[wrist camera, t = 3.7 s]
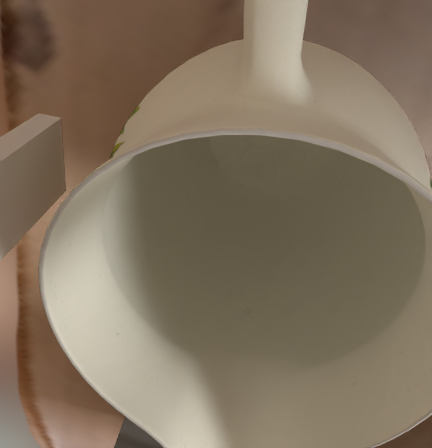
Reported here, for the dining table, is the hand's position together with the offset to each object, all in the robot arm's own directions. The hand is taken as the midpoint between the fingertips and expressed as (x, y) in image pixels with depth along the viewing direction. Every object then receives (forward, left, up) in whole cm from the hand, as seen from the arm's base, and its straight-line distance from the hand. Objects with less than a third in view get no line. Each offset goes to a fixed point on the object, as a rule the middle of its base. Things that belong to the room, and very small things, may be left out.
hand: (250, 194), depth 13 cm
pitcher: (0, 0, -8) cm, 8 cm away
